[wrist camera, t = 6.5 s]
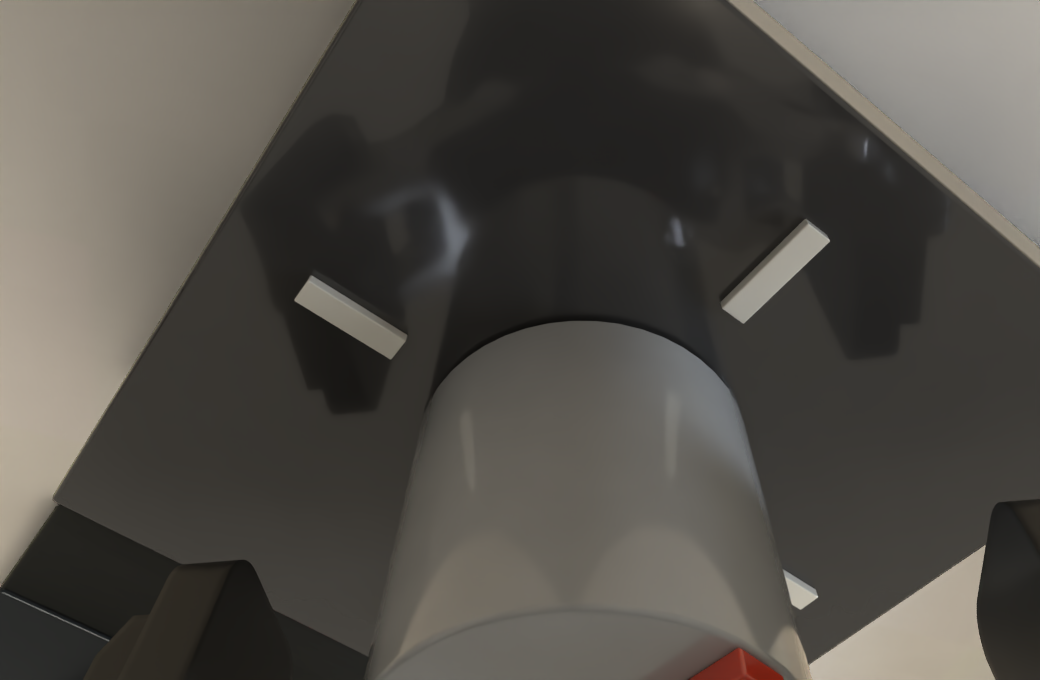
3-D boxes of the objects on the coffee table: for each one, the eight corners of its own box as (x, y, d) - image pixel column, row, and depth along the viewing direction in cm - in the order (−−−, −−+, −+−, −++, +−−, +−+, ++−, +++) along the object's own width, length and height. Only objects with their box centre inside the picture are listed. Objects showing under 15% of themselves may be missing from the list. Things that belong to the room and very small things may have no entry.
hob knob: (590, 614, 14) (599, 965, 10) (354, 466, 12) (251, 802, 8) (817, 449, 12) (943, 799, 8) (568, 251, 11) (565, 552, 7)
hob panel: (132, 383, 16) (43, 509, 13) (503, -214, 11) (481, -210, 8) (621, 651, 19) (630, 796, 16) (1084, 286, 14) (1207, 409, 11)
